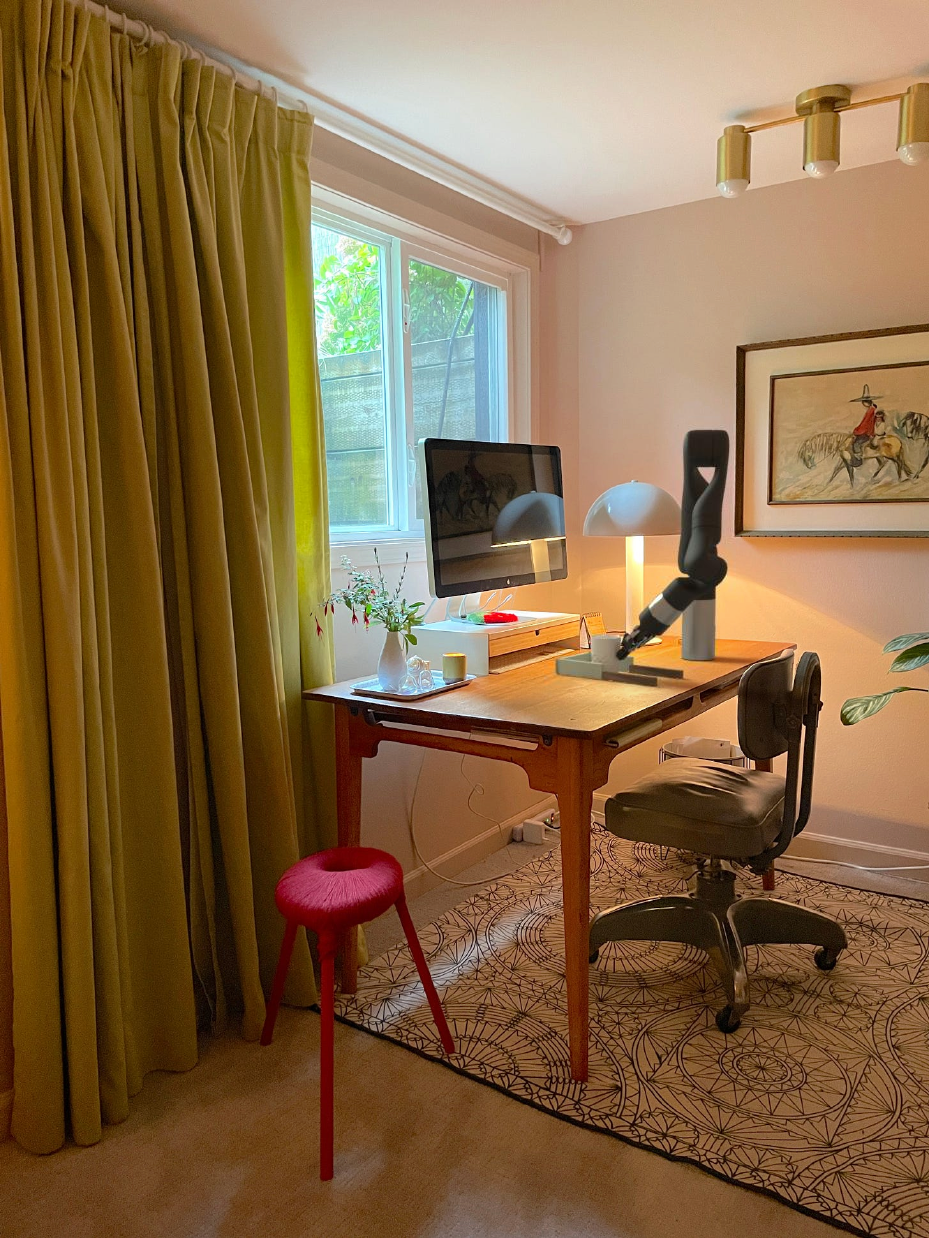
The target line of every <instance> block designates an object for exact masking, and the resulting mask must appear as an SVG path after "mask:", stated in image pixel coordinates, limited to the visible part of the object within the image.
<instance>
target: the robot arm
mask: <svg viewBox="0 0 929 1238" xmlns="http://www.w3.org/2000/svg"><path fill="white" fill-rule="evenodd" d="M682 444H683V445H682V457H683V458H682V461H683V463H682V464H683V483H682V484H683V486H682V497H681V508H680V509H681V511H680V513H681V515H680V522H681V523H680V525H681V526H680V538H679V539H680V540H679V545H678V551H677V553H678V554H677V566H678V570H679V572H680V574H683V575H687V577H686V576H679V577H676V578H674V579H673V580H672V581H671V582H670V583H669V584H668V585H667V586H666V587H665V588H664V589H663V591H662V592H660V593H659V594H658V595H657V596H655V597H654V599H652V600H651V602H650V603H649V604H648V605H647V606H646V607H645V608H644V609H643V610H642V611H641V612H640V613H639V615H638V620H639V625H638V624H637V625H635V627H633V629H632V631H631V632H630V633H628V632H626V633H624V635H623V638H621V649H620V650H619V651H618V652H617V653H616V657H617V658H618V659H619V660H624V659H625V658H626V657H627V656H629V655H630V654H631V653H632V652H634V651H636V649H637V650H638V649H641V648H642V647H644V645H646V644H647V643H649V642H650V641H651V640H653V639H654V638H656V637H661V636H662V635H663V634H664V633H665V632H667V630H668V629H670V627H671V626H672V625H673V624H674V623H675V622H676V621H677V620H678V619H679V618H680V617H681V655H680V656H681V659H683V660H690V661H711V660H714V659H715V658H716V631H717V630H716V628H717V627H716V605H717V604H716V601H717V599H716V598H717V597H716V595H717V593H716V591H717V590H716V589H717V586H718V585H720V584H721V583H722V582H723V581H724V580H725V577H726V576H727V573H728V570H729V569H728V563H727V562H726V560H725V559H724V558H723V557H721V556H718V555H719V554H718V552H719V551H718V547H717V545H719V544H720V542H721V540H722V528H723V527H722V526H723V522H722V521H723V520H722V519H723V502H724V498H725V491H726V484H727V475H728V471H729V470H728V469H729V460H730V436H729V434H728V432H727V431H726V430H724V429H692V430H689V431H687V432H686V433H685V435H684V439H683V443H682ZM699 468H714V472H713V476H712V478H711V481H710V482H708V481H707V479H706V478H705V477H704V476H703V475H702V474H701V472H700V470H699Z"/></svg>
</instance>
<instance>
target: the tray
mask: <svg viewBox="0 0 929 1238" xmlns="http://www.w3.org/2000/svg"><path fill="white" fill-rule="evenodd" d="M634 660H635V659H634V656H629V655H628V656H627V657H626V658H625V659H624V660H620V663H619V672H624V671H629V665H634ZM602 672H604V664H602V663H593V662H592V657H591V651H586V652H582V653H576V654H572V655H568V656H563V657H558V658H555V674H556V673H557V674H556V675H561V676H567V675H569V676H570V677H577V678H582V677H586V678H585V679H590V678H596V679H595V680H598V679H600V681H603V680H602ZM569 676H568V677H569Z"/></svg>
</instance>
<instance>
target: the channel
mask: <svg viewBox="0 0 929 1238" xmlns="http://www.w3.org/2000/svg"><path fill="white" fill-rule="evenodd" d="M635 673H637V674H635ZM651 675H652V676H651ZM658 677H660V678H668V679H669V678H670V679H676V678H679V679H678V680H682V679H684V670H683V669H682V670H681V669H675V668H674V669H673V668H665V667H659V666H649V665H648V666H647V665H641V664H640V665H639V664H633V665H629V672H628V673H623V672H619V673H617V672H609V671H604V672H602V680H601V681H608V680H612V681H611V682H615V681H616V683H623V682H625V683H624V684H631V685H632V684H633V685H639V686H646V687H657V686H658ZM681 678H682V679H681Z"/></svg>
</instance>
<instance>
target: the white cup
mask: <svg viewBox="0 0 929 1238" xmlns="http://www.w3.org/2000/svg"><path fill="white" fill-rule="evenodd" d="M621 642H622V636H621V635H619V634H594V635H590V652H591V657H592V662H593V663H602V664H604V671H609V672H617V673H620V671H619V663H620V660H619V659H618V658H617V657H616V653H617V652H618V651H619V650H620V649H621V648H622V645H621Z"/></svg>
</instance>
